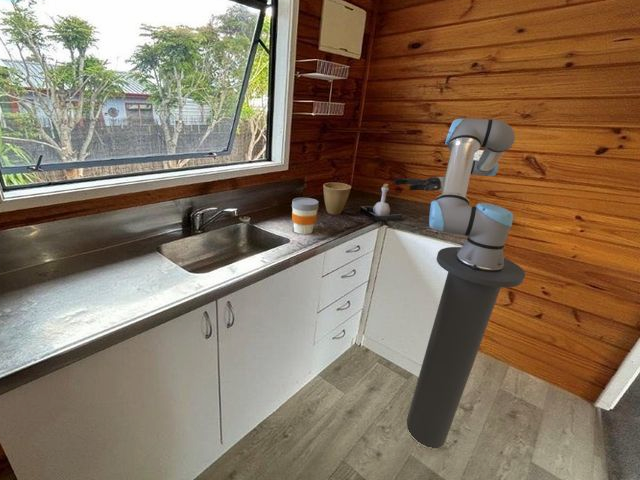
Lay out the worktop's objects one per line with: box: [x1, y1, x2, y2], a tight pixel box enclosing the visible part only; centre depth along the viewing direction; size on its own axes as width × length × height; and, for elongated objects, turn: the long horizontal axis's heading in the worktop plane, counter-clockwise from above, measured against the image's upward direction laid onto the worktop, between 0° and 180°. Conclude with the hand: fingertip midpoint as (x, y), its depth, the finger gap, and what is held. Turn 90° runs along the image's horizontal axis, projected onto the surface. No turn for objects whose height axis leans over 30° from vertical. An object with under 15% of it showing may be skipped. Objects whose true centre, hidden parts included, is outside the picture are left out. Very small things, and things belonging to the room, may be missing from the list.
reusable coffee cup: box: [291, 197, 320, 235], centre depth 145 cm, size 12×13×15 cm
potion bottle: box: [372, 183, 391, 215], centre depth 167 cm, size 9×9×18 cm
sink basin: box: [359, 205, 403, 222], centre depth 169 cm, size 16×16×5 cm
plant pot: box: [322, 182, 352, 216], centre depth 170 cm, size 15×15×16 cm
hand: (401, 184), depth 166 cm, fingers open, 13 cm apart
